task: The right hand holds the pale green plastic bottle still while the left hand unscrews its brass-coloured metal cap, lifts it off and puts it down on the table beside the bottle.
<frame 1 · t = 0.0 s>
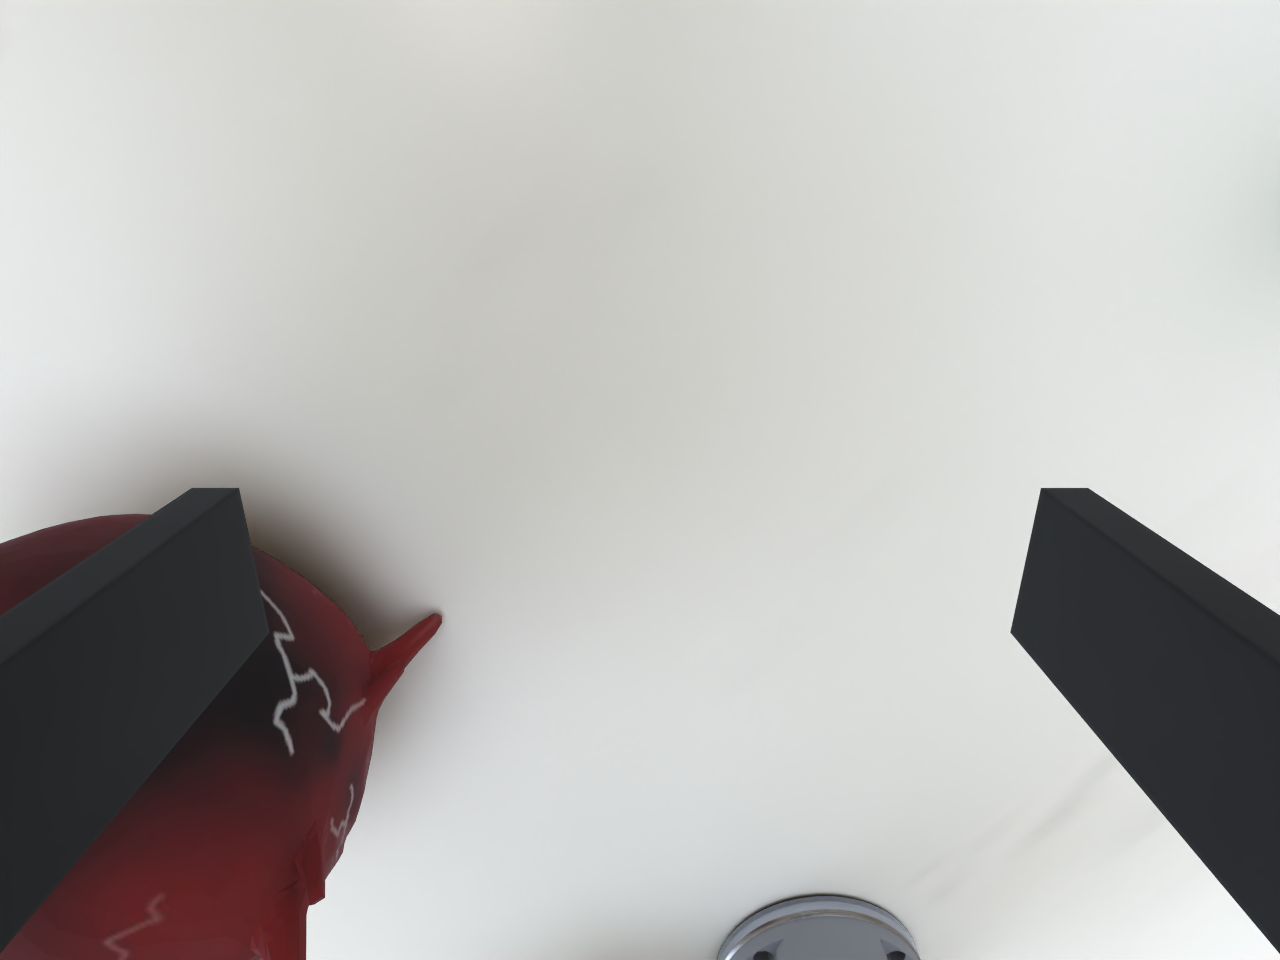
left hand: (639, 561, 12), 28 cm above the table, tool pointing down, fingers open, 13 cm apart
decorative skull: (228, 654, 46), on the table
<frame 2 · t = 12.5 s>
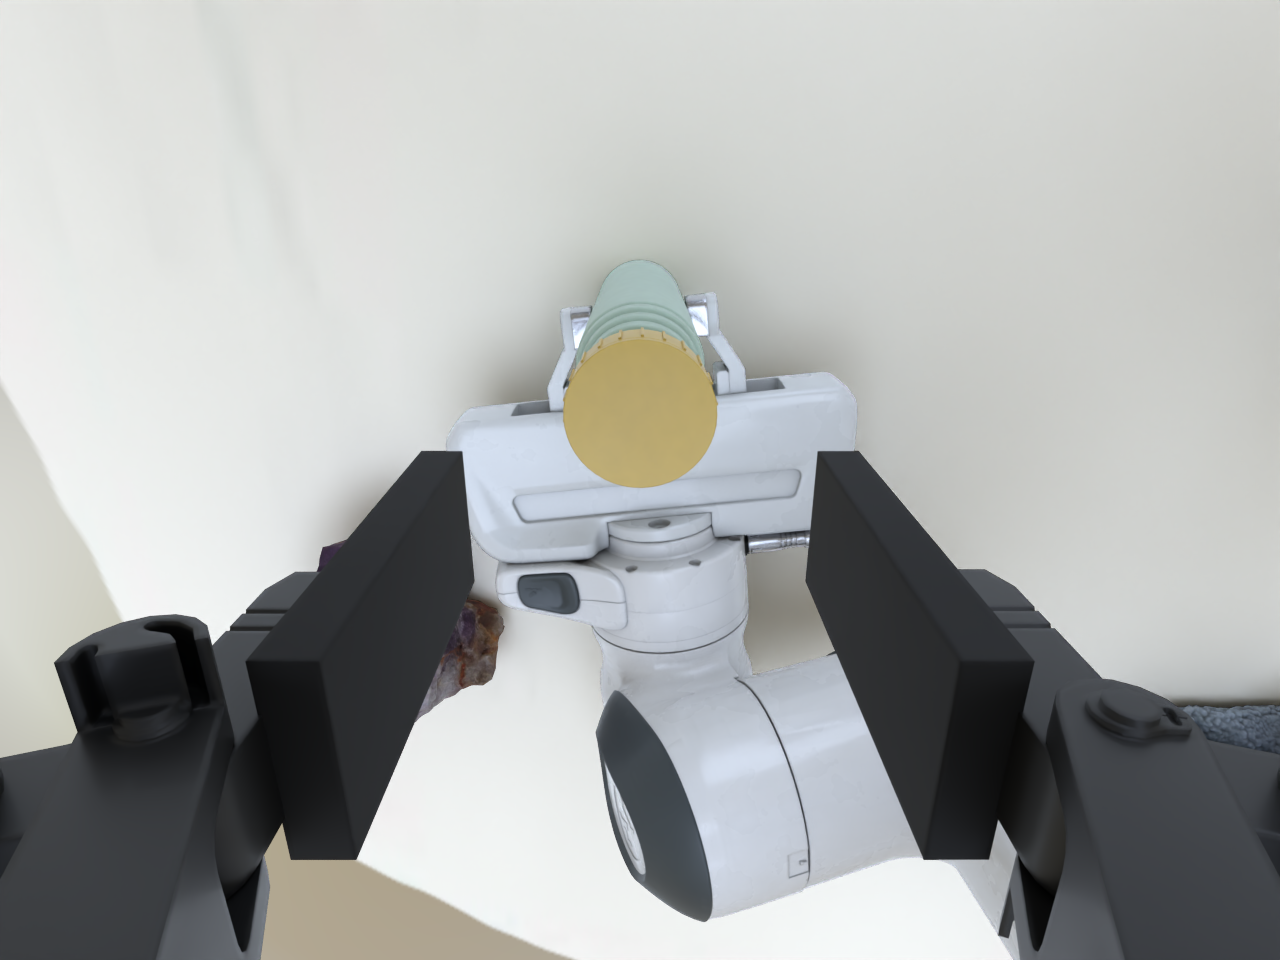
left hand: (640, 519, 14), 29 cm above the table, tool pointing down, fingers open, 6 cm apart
right hand: (637, 301, 35), fingers closed on bottle, 4 cm apart
rock: (415, 586, 48), on the table
bottle: (639, 302, 41), on the table, touching right hand
koala plush: (1158, 780, 54), on the table
cap: (640, 413, 21), point 22 cm above the table, screwed on, not yet turned
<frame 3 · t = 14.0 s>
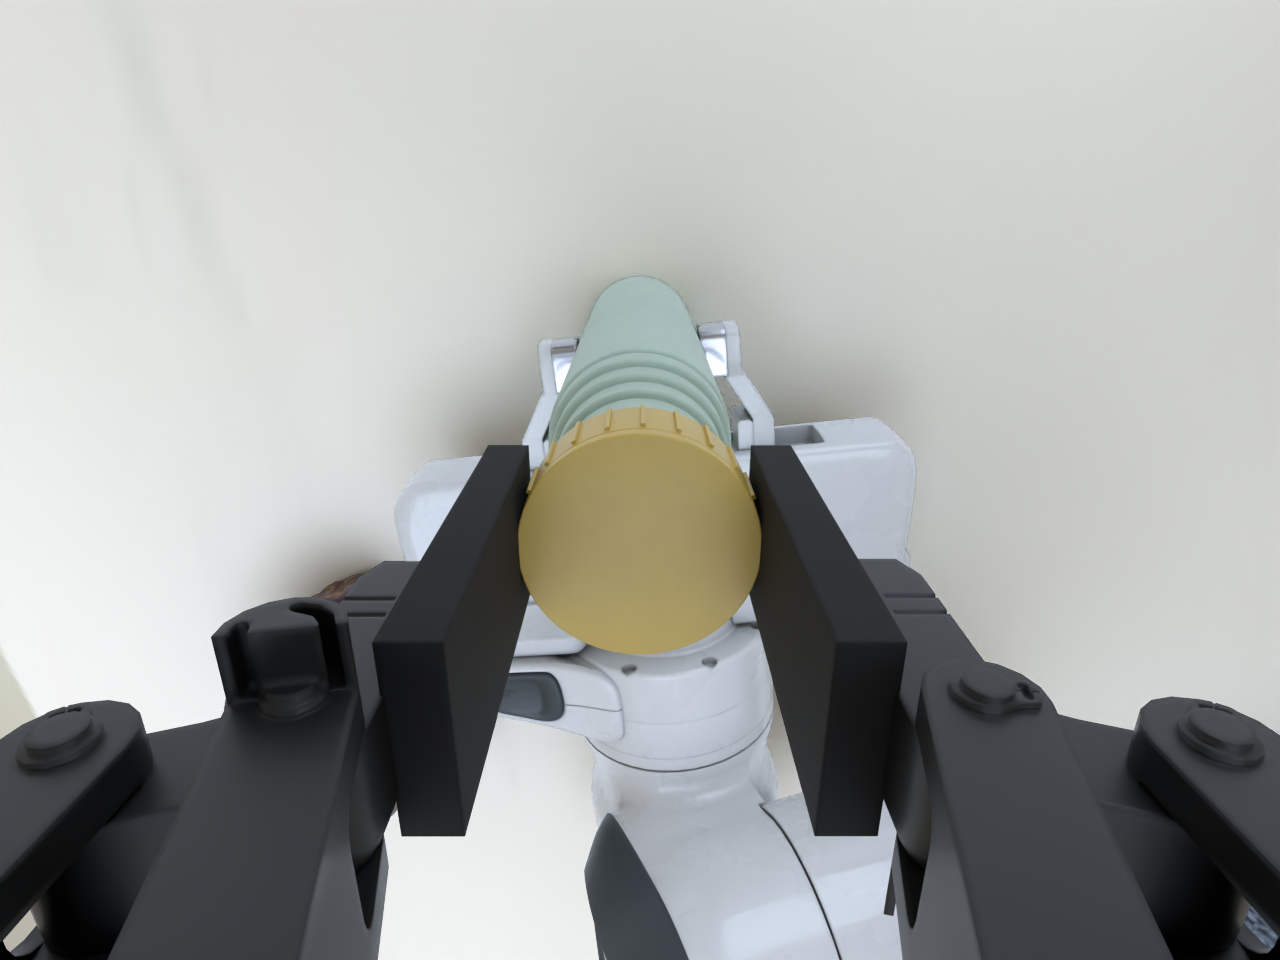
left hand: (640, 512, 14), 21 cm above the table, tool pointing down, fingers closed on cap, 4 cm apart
rock: (373, 660, 40), on the table
bottle: (639, 327, 34), on the table, touching right hand
koala plush: (1243, 877, 46), on the table
cap: (639, 543, 13), point 22 cm above the table, screwed on, not yet turned, touching left hand
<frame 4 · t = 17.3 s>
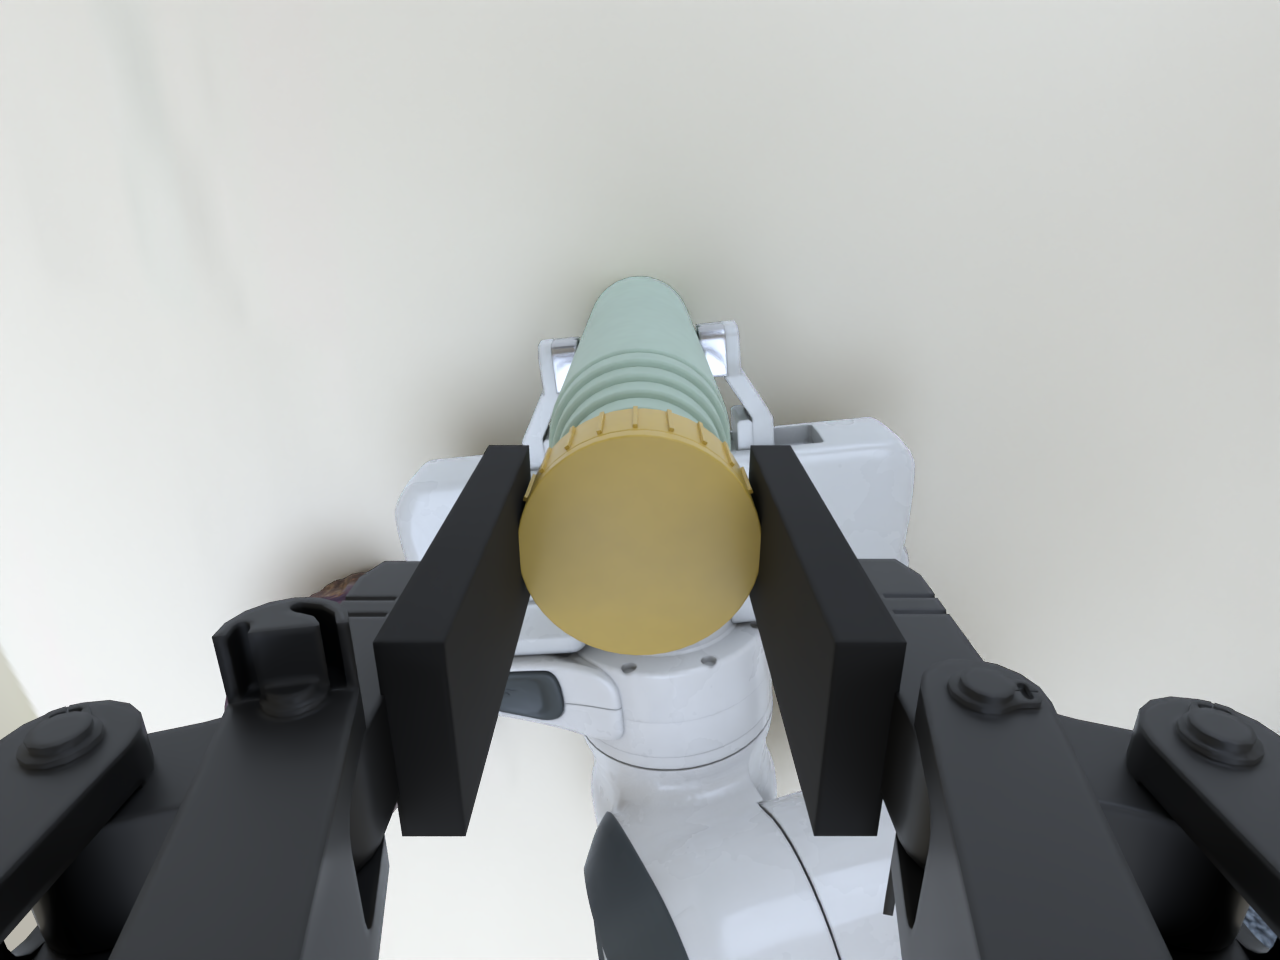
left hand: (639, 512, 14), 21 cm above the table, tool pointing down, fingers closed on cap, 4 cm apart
rock: (373, 659, 40), on the table
bottle: (639, 327, 34), on the table, touching right hand
koala plush: (1240, 876, 46), on the table
cap: (639, 544, 13), point 22 cm above the table, turned 102° so far, risen 0.1 cm, still on its thread, touching left hand
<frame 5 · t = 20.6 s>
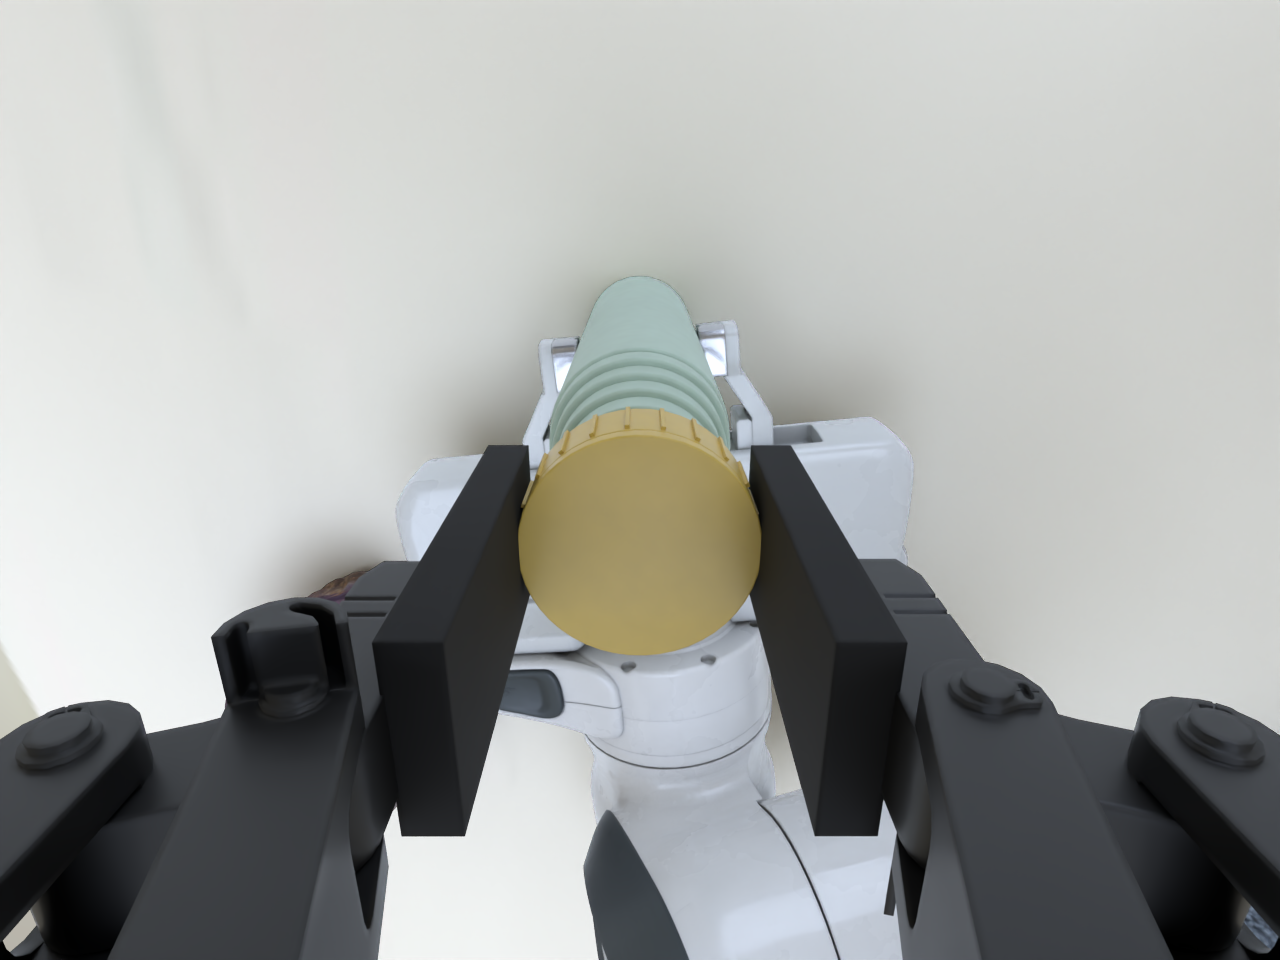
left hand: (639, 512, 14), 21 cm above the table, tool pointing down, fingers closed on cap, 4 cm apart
rock: (373, 657, 40), on the table
bottle: (639, 327, 34), on the table, touching right hand
koala plush: (1238, 875, 46), on the table
cap: (639, 544, 13), point 22 cm above the table, turned 204° so far, risen 0.2 cm, still on its thread, touching left hand
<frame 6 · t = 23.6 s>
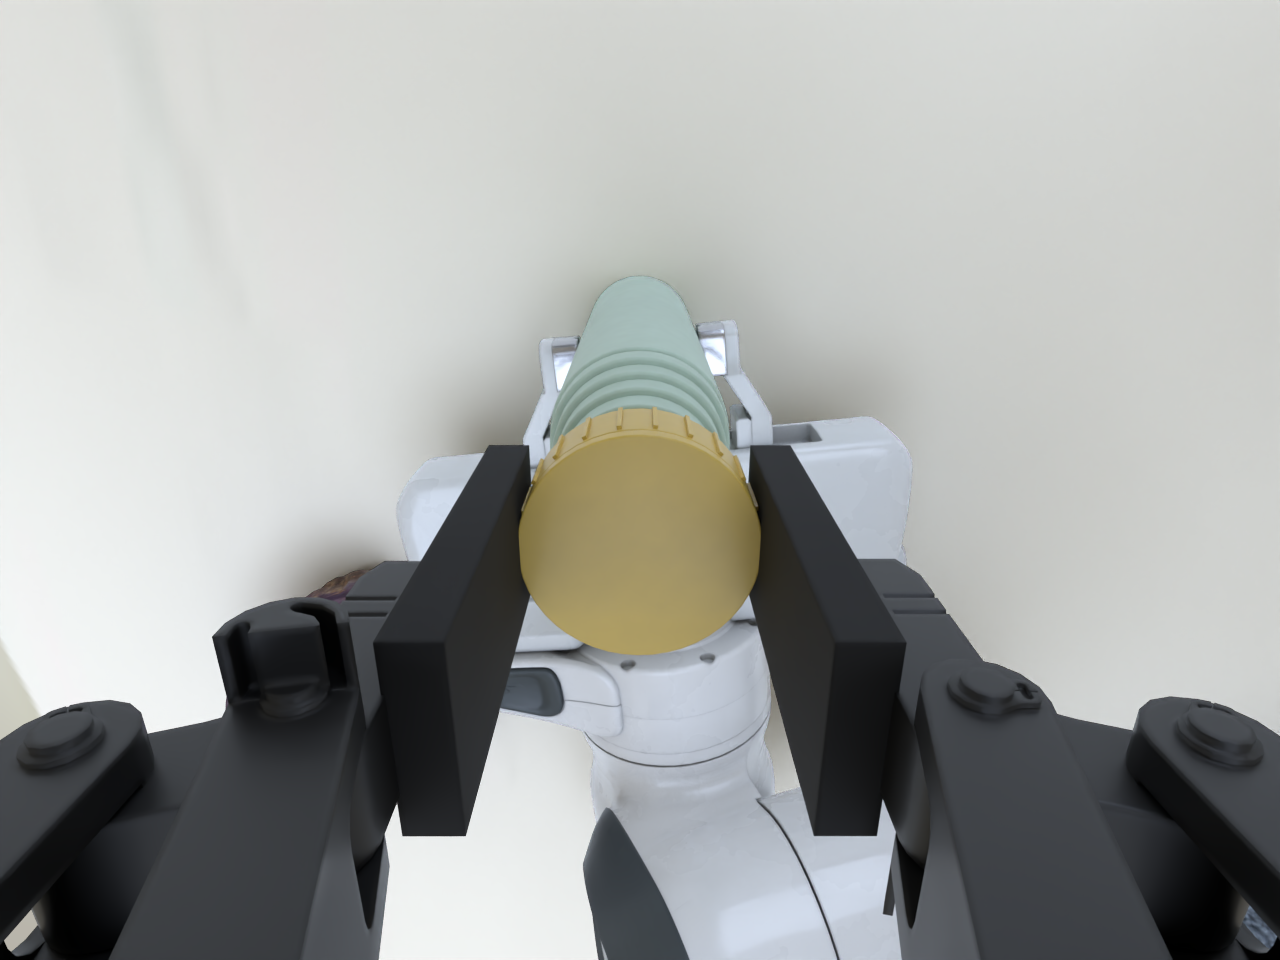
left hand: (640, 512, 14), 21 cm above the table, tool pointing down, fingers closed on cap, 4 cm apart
rock: (373, 656, 41), on the table
bottle: (639, 326, 34), on the table, touching right hand
koala plush: (1236, 874, 46), on the table
cap: (639, 544, 13), point 22 cm above the table, turned 306° so far, risen 0.3 cm, still on its thread, touching left hand
when the left hand's fingers open (2 cm above the table, at t = 30.1 s): cap drops 2 cm, point 1 cm above the table.
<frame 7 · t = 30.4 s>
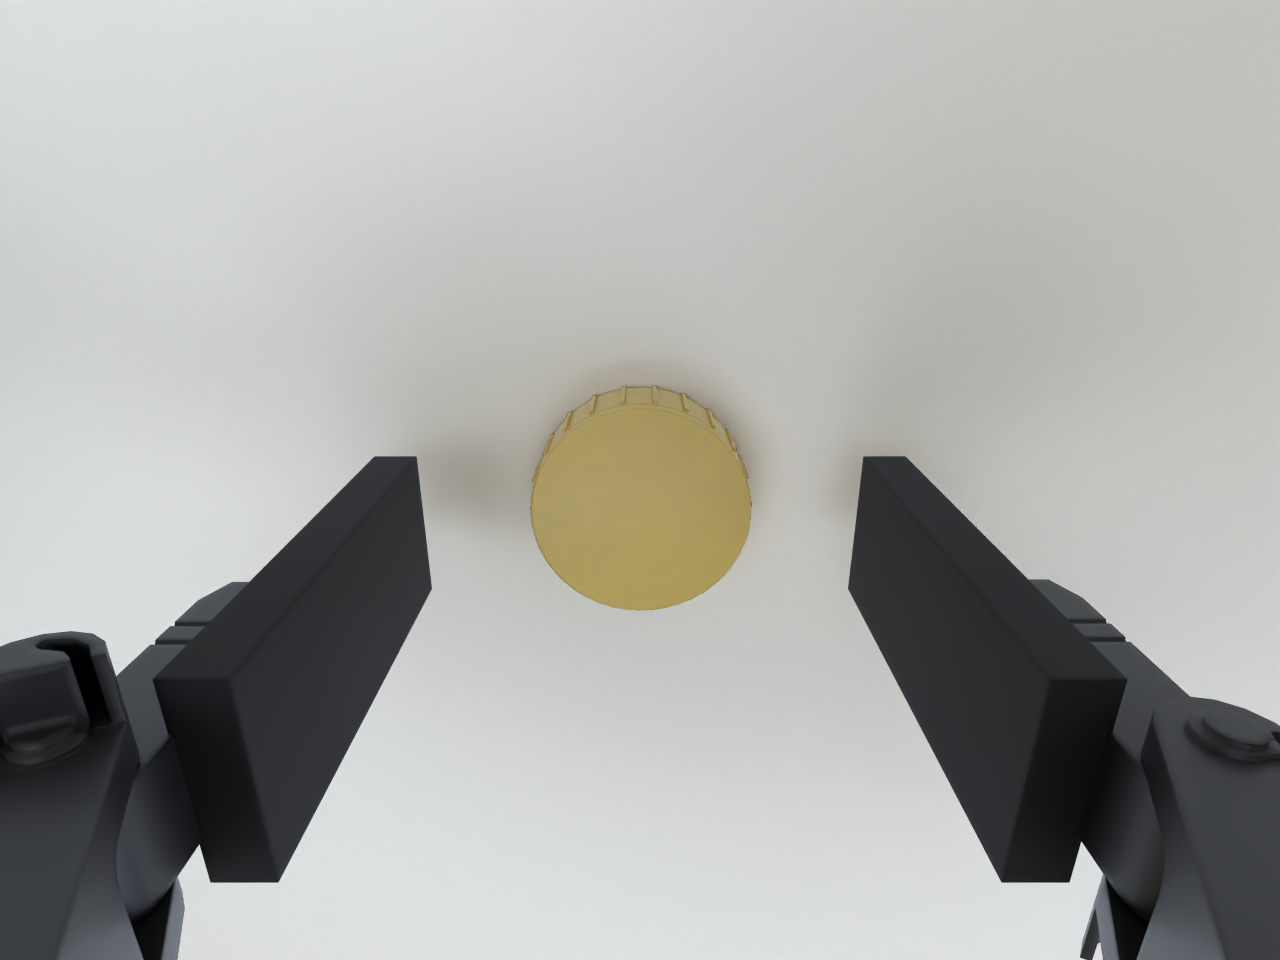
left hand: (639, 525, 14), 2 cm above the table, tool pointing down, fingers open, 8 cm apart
cap: (640, 509, 15), point 1 cm above the table, off its thread
when the right hand's fingers open (6 cm above the table, at t = 31.4 s): bottle stays where it is, on the table.
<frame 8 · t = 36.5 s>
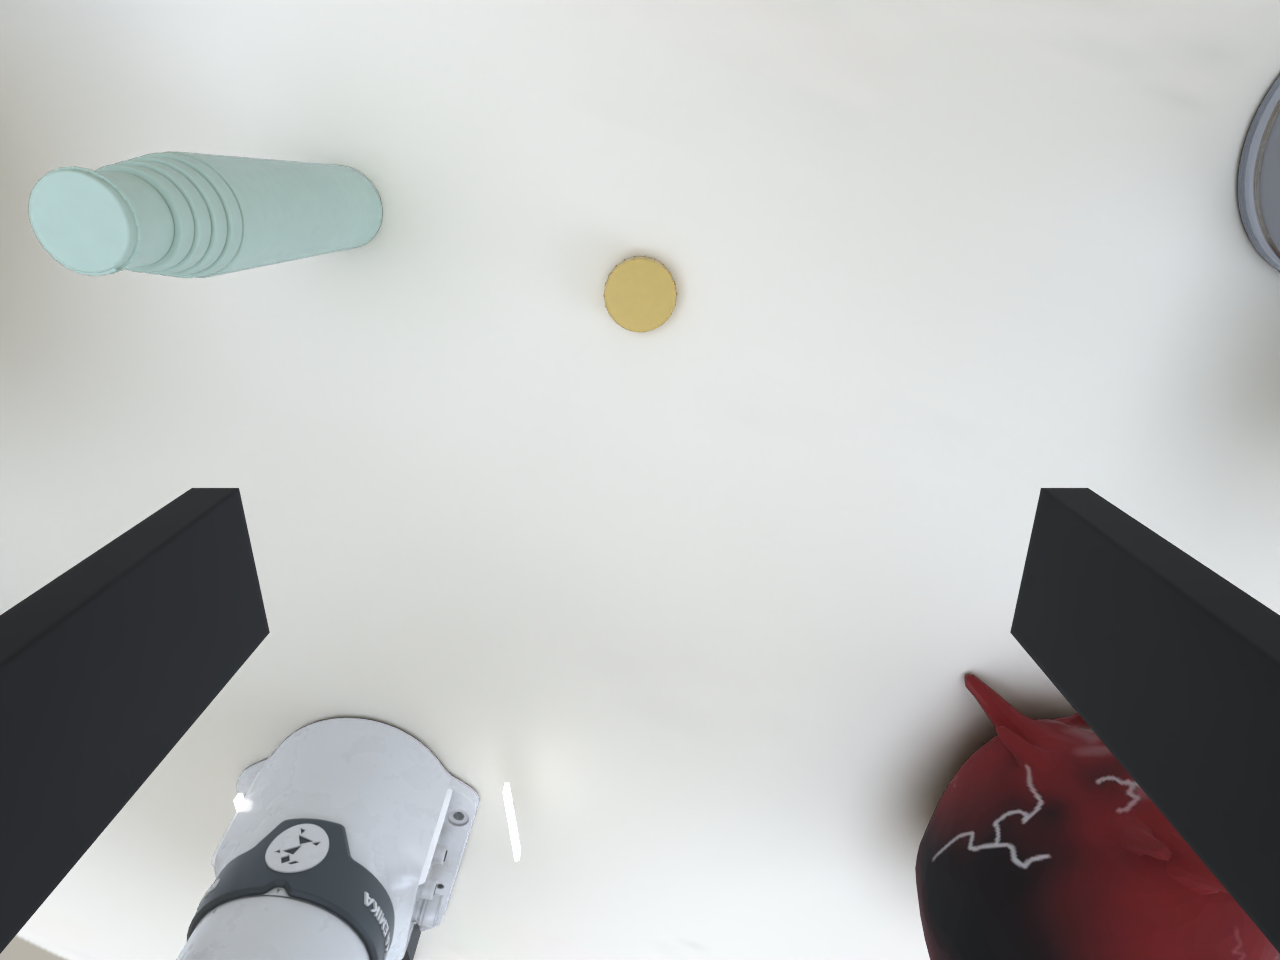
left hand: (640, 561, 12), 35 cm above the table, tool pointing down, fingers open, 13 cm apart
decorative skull: (1045, 789, 59), on the table
bottle: (343, 207, 44), on the table
cap: (640, 295, 44), point 1 cm above the table, off its thread
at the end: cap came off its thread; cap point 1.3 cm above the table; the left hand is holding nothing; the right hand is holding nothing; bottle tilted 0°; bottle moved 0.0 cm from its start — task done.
